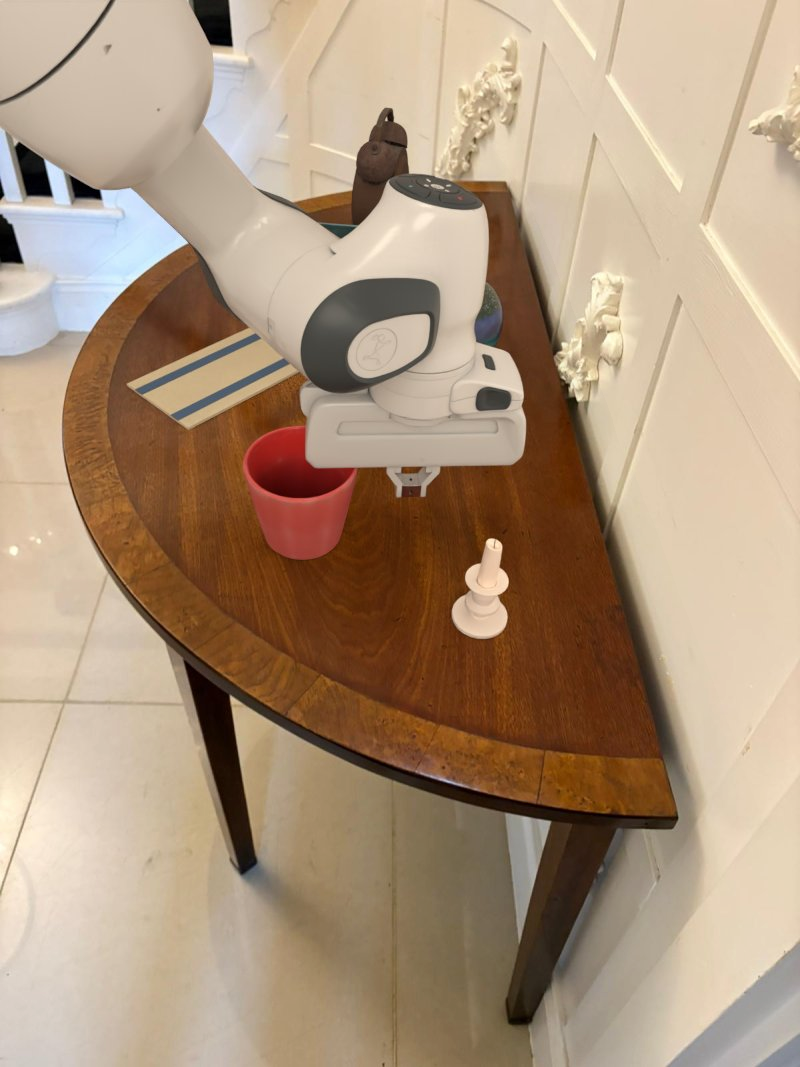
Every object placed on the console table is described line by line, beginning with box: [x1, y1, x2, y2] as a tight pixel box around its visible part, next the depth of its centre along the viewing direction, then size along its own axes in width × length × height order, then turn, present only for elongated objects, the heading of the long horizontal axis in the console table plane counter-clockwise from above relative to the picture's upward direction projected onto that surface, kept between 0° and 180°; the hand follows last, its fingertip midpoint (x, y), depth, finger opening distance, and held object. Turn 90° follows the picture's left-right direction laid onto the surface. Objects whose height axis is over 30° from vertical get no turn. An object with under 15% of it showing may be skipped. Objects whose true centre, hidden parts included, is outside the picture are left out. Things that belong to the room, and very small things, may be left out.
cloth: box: [126, 327, 300, 431], centre depth 98 cm, size 20×12×1 cm, turn 138°
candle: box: [451, 538, 510, 640], centre depth 70 cm, size 5×5×10 cm
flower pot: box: [242, 425, 359, 561], centre depth 76 cm, size 11×11×10 cm
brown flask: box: [350, 107, 410, 225], centre depth 119 cm, size 15×7×20 cm, turn 169°
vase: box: [474, 280, 504, 348], centre depth 100 cm, size 15×15×13 cm
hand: (409, 493), depth 77 cm, fingers closed
